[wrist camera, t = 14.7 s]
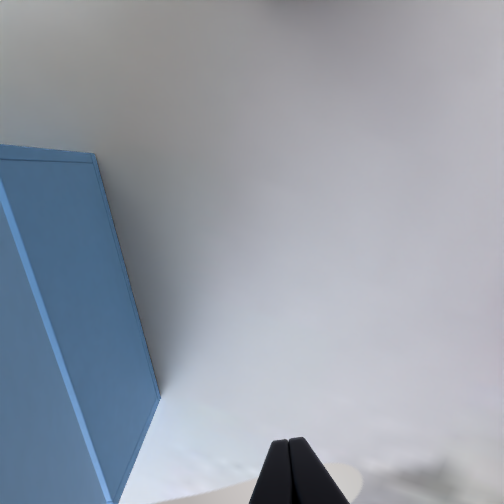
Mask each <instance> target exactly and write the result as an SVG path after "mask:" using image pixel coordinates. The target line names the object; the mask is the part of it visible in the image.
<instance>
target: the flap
mask: <svg viewBox="0 0 504 504" xmlns="http://www.w3.org/2000/svg"><path fill="white" fill-rule="evenodd" d="M0 504H107V502H106V500H105V497H104V494H103V491H102V488H101V485H100V482H99V480H98V477H97V474H96V471H95V468H94V465H93V463H92V460H91V457H90V454H89V451H88V448H87V446H86V443H85V440H84V437H83V434H82V431H81V428H80V426H79V423H78V420H77V417H76V414H75V411H74V409H73V406H72V403H71V400H70V397H69V394H68V392H67V389H66V386H65V383H64V380H63V377H62V374H61V372H60V369H59V366H58V363H57V360H56V357H55V355H54V352H53V349H52V346H51V343H50V340H49V337H48V335H47V332H46V329H45V326H44V323H43V320H42V318H41V315H40V312H39V309H38V306H37V303H36V301H35V298H34V295H33V292H32V289H31V286H30V283H29V281H28V278H27V275H26V272H25V269H24V266H23V264H22V261H21V258H20V255H19V252H18V249H17V247H16V244H15V241H14V238H13V235H12V232H11V229H10V227H9V224H8V221H7V218H6V215H5V212H4V210H3V207H2V204H1V201H0Z"/></svg>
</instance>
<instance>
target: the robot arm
mask: <svg viewBox="0 0 504 504" xmlns="http://www.w3.org/2000/svg"><path fill="white" fill-rule="evenodd" d="M249 504H350V503H349V502H348V501H347V499H346V498H345V496H344V495H343V493H342V492H341V490H340V489H339V488H338V486H337V485H336V483H335V482H334V480H333V479H332V477H331V476H330V475H329V473H328V471H327V470H326V469H325V467H324V466H323V464H322V463H321V461H320V460H319V458H318V457H317V455H316V454H315V453H314V451H313V450H312V448H311V447H310V445H309V444H308V442H307V441H306V440H305V438H303V437H298V438H291V439H289V443H288V440H286V439H283V440H276V441H273V442H272V443H271V446H270V448H269V451H268V454H267V456H266V459H265V462H264V464H263V467H262V470H261V472H260V475H259V478H258V480H257V483H256V486H255V488H254V491H253V494H252V496H251V499H250V502H249Z"/></svg>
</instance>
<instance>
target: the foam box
mask: <svg viewBox="0 0 504 504" xmlns="http://www.w3.org/2000/svg"><path fill="white" fill-rule="evenodd" d="M0 201H1V204H2V207H3V210H4V212H5V215H6V218H7V221H8V224H9V227H10V229H11V232H12V235H13V238H14V241H15V244H16V247H17V249H18V252H19V255H20V258H21V261H22V264H23V266H24V269H25V272H26V275H27V278H28V281H29V283H30V286H31V289H32V292H33V295H34V298H35V301H36V303H37V306H38V309H39V312H40V315H41V318H42V320H43V323H44V326H45V329H46V332H47V335H48V337H49V340H50V343H51V346H52V349H53V352H54V355H55V357H56V360H57V363H58V366H59V369H60V372H61V374H62V377H63V380H64V383H65V386H66V389H67V392H68V394H69V397H70V400H71V403H72V406H73V409H74V411H75V414H76V417H77V420H78V423H79V426H80V428H81V431H82V434H83V437H84V440H85V443H86V446H87V448H88V451H89V454H90V457H91V460H92V463H93V465H94V468H95V471H96V474H97V477H98V480H99V482H100V485H101V488H102V491H103V494H104V497H105V500H106V502H107V504H118V503H119V500H120V498H121V495H122V493H123V490H124V488H125V485H126V483H127V480H128V478H129V475H130V473H131V471H132V468H133V466H134V463H135V461H136V458H137V456H138V453H139V451H140V448H141V446H142V443H143V441H144V438H145V436H146V433H147V431H148V428H149V426H150V424H151V421H152V419H153V416H154V414H155V411H156V409H157V406H158V404H159V401H160V399H161V396H160V393H159V389H158V385H157V381H156V378H155V374H154V370H153V367H152V363H151V359H150V356H149V352H148V348H147V345H146V341H145V337H144V334H143V330H142V326H141V323H140V319H139V315H138V311H137V308H136V304H135V300H134V297H133V293H132V289H131V286H130V282H129V278H128V275H127V271H126V267H125V264H124V260H123V256H122V252H121V249H120V245H119V241H118V238H117V234H116V230H115V227H114V223H113V219H112V216H111V212H110V208H109V205H108V201H107V197H106V194H105V190H104V186H103V182H102V179H101V175H100V171H99V168H98V164H97V160H96V157H95V154H93V153H84V152H74V151H64V150H54V149H44V148H34V147H24V146H14V145H4V144H0Z"/></svg>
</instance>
